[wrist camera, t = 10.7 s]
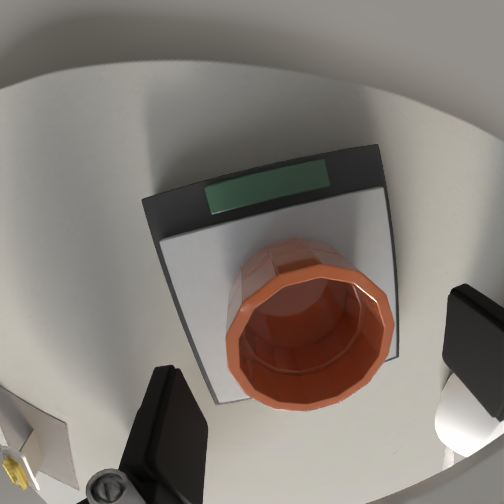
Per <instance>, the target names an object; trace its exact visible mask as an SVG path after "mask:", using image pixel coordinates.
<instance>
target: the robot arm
mask: <svg viewBox="0 0 504 504" xmlns="http://www.w3.org/2000/svg"><path fill="white" fill-rule="evenodd" d="M442 356H443V360H444V362H445V363H446V365H447V366H448V367H449V368H450V369H451V370H452V371H453V372H454V373H455V375H456V376H457V377H458V378H459V379H460V380H461V381H462V383H463V384H464V385H465V386H466V387H467V388H468V390H469V391H470V392H471V393H472V394H473V395H474V397H475V398H476V399H477V400H478V401H479V403H480V404H481V405H482V406H483V407H484V409H485V410H486V411H487V412H488V413H489V415H490V416H491V417H493V418H495V417H496V419H497V420H498V421H499V422H502V421H503V420H504V308H503V307H502V306H500V305H499V304H497V303H496V302H494V301H493V300H491V299H490V298H488V297H487V296H485V295H484V294H482V293H480V292H479V291H477V290H476V289H474V288H473V287H471V286H470V285H468V284H466V283H465V284H462V285H459V286H457V287H455V288H453V289H452V290H451V292H450V294H449V295H448V302H447V316H446V327H445V336H444V345H443V352H442ZM207 439H208V425H207V421H206V419H205V418H204V416H203V414H202V412H201V410H200V408H199V406H198V404H197V402H196V400H195V398H194V396H193V394H192V392H191V390H190V388H189V386H188V384H187V382H186V380H185V378H184V376H183V374H182V372H181V370H180V369H179V368H176V369H175V367H174V366H173V365H167V366H160V367H156V368H155V369H154V371H153V374H152V377H151V379H150V382H149V385H148V388H147V390H146V393H145V396H144V399H143V402H142V405H141V407H140V408H139V410H138V412H137V414H136V417H135V420H134V423H133V426H132V429H131V432H130V435H129V438H128V441H127V444H126V447H125V450H124V453H123V456H122V459H121V462H120V465H119V469H112V468H111V469H104V470H102V471H99V472H97V473H96V474H95V475H93V476H92V477H91V479H90V480H89V481H88V483H87V486H86V496H87V498H86V499H84V500H82V501H81V502H79V503H77V504H203V489H204V476H205V463H206V451H207ZM366 504H504V433H503V434H502V435H500V436H499V437H498V438H496V439H495V440H493V441H492V442H490V443H489V444H487V445H486V446H484V447H483V448H481V449H480V450H478V451H476V452H475V453H473V454H472V455H470V456H468V457H467V458H465V459H463V460H462V461H460V462H458V463H456V464H455V465H453V466H451V467H449V468H447V469H445V470H444V471H442V472H440V473H438V474H436V475H434V476H432V477H430V478H428V479H426V480H424V481H421V482H419V483H417V484H415V485H413V486H410V487H408V488H406V489H404V490H401V491H399V492H396V493H394V494H391V495H389V496H386V497H383V498H381V499H378V500H375V501H372V502H369V503H366Z"/></svg>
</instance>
